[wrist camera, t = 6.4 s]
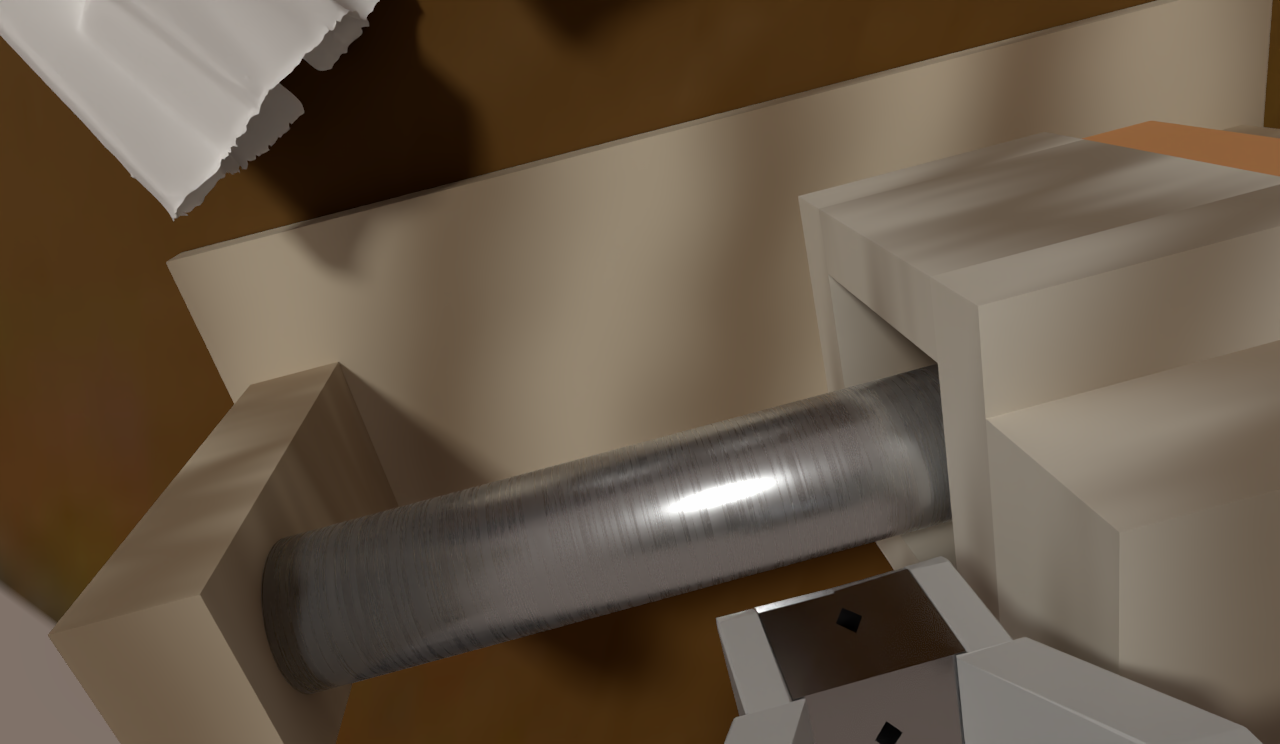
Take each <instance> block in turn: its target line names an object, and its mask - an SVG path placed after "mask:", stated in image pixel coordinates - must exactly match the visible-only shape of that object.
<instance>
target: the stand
mask: <svg viewBox="0 0 1280 744" xmlns="http://www.w3.org/2000/svg"><path fill="white" fill-rule="evenodd" d="M1271 13H1272V0H1157V1H1154V2H1150V3H1146V4H1142V5H1138V6H1134V7H1130V8H1126V9H1123V10H1119V11H1115V12H1111V13H1107V14H1103V15H1099V16H1095V17H1092V18H1088V19H1084V20H1080V21H1076V22H1072V23H1068V24H1065V25H1061V26H1057V27H1053V28H1049V29H1045V30H1041V31H1037V32H1034V33H1030V34H1026V35H1022V36H1018V37H1014V38H1010V39H1006V40H1003V41H999V42H995V43H991V44H987V45H983V46H979V47H976V48H972V49H968V50H964V51H960V52H956V53H952V54H948V55H945V56H941V57H937V58H933V59H929V60H925V61H921V62H917V63H914V64H910V65H906V66H902V67H898V68H894V69H890V70H887V71H883V72H879V73H875V74H871V75H867V76H863V77H859V78H856V79H852V80H848V81H844V82H840V83H836V84H832V85H829V86H825V87H821V88H817V89H813V90H809V91H805V92H801V93H798V94H794V95H790V96H786V97H782V98H778V99H774V100H770V101H767V102H763V103H759V104H755V105H751V106H747V107H743V108H740V109H736V110H732V111H728V112H724V113H720V114H716V115H712V116H709V117H705V118H701V119H697V120H693V121H689V122H685V123H681V124H678V125H674V126H670V127H666V128H662V129H658V130H654V131H651V132H647V133H643V134H639V135H635V136H631V137H627V138H623V139H620V140H616V141H612V142H608V143H604V144H600V145H596V146H592V147H589V148H585V149H581V150H577V151H573V152H569V153H565V154H562V155H558V156H554V157H550V158H546V159H542V160H538V161H534V162H531V163H527V164H523V165H519V166H515V167H511V168H507V169H503V170H500V171H496V172H492V173H488V174H484V175H480V176H476V177H473V178H469V179H465V180H461V181H457V182H453V183H449V184H445V185H442V186H438V187H434V188H430V189H426V190H422V191H418V192H414V193H411V194H407V195H403V196H399V197H395V198H391V199H387V200H384V201H380V202H376V203H372V204H368V205H364V206H360V207H356V208H353V209H349V210H345V211H341V212H337V213H333V214H329V215H325V216H322V217H318V218H314V219H310V220H306V221H302V222H298V223H295V224H291V225H287V226H283V227H279V228H275V229H271V230H267V231H264V232H260V233H256V234H252V235H248V236H244V237H240V238H236V239H233V240H229V241H225V242H221V243H217V244H213V245H209V246H206V247H202V248H198V249H194V250H190V251H186V252H182V253H180V254H178V255H177V256H175V257H174V258H172V259H170V260H169V261H167V262H166V264H167V266H168V268H169V270H170V272H171V274H172V276H173V278H174V280H175V282H176V284H177V286H178V288H179V290H180V292H181V295H182V297H183V299H184V301H185V303H186V305H187V307H188V309H189V311H190V313H191V315H192V317H193V319H194V321H195V323H196V326H197V328H198V330H199V332H200V334H201V336H202V338H203V340H204V342H205V344H206V346H207V348H208V350H209V352H210V354H211V357H212V359H213V361H214V363H215V365H216V367H217V369H218V371H219V373H220V375H221V377H222V379H223V381H224V383H225V385H226V388H227V390H228V392H229V394H230V396H231V398H232V400H233V402H234V405H233V407H232V408H231V409H230V410H229V412H228V413H227V414H226V415H225V417H224V418H223V419H222V420H221V421H220V423H219V424H218V425H217V426H216V428H215V429H214V430H213V431H212V433H211V434H210V435H209V436H208V438H207V439H206V440H205V441H204V443H203V444H202V445H201V446H200V447H199V449H198V450H197V451H196V452H195V454H194V455H193V456H192V457H191V459H190V460H189V461H188V462H187V464H186V465H185V466H184V467H183V468H182V470H181V471H180V472H179V473H178V475H177V476H176V477H175V478H174V480H173V481H172V482H171V483H170V485H169V486H168V487H167V488H166V490H165V491H164V492H163V493H162V494H161V496H160V497H159V498H158V499H157V501H156V502H155V503H154V504H153V506H152V507H151V508H150V509H149V511H148V512H147V513H146V514H145V515H144V517H143V518H142V519H141V520H140V522H139V523H138V524H137V525H136V527H135V528H134V529H133V530H132V532H131V533H130V534H129V535H128V536H127V538H126V539H125V540H124V541H123V543H122V544H121V545H120V546H119V548H118V549H117V550H116V551H115V553H114V554H113V555H112V556H111V558H110V559H109V560H108V561H107V562H106V564H105V565H104V566H103V567H102V569H101V570H100V571H99V572H98V574H97V575H96V576H95V577H94V579H93V580H92V581H91V582H90V583H89V585H88V586H87V587H86V588H85V590H84V591H83V592H82V593H81V595H80V596H79V597H78V598H77V600H76V601H75V602H74V603H73V604H72V606H71V607H70V608H69V609H68V611H67V612H66V613H65V614H64V616H63V617H62V618H61V619H60V621H59V622H58V623H57V624H56V626H55V627H54V628H53V629H52V630H51V632H50V633H49V634H48V636H49V638H50V639H51V641H52V642H53V644H54V645H55V647H56V648H57V650H58V651H59V653H60V654H61V656H62V657H63V659H64V660H65V662H66V663H67V665H68V666H69V668H70V669H71V671H72V672H73V673H74V675H75V676H76V678H77V679H78V681H79V682H80V684H81V685H82V687H83V688H84V690H85V691H86V693H87V694H88V696H89V697H90V699H91V700H92V702H93V703H94V705H95V706H96V708H97V709H98V711H99V712H100V714H101V715H102V716H103V718H104V719H105V721H106V722H107V724H108V725H109V727H110V728H111V730H112V731H113V733H114V734H115V736H116V737H117V739H118V740H119V742H120V743H121V744H336V740H337V737H338V733H339V729H340V726H341V722H342V719H343V715H344V711H345V708H346V704H347V701H348V697H349V694H350V690H351V686H352V683H351V684H347V685H343V686H340V687H336V688H332V689H329V690H325V691H321V692H317V693H314V694H303V693H300V692H298V691H297V690H295V689H294V688H293V687H292V686H291V685H290V684H289V683H288V682H287V681H286V680H285V678H284V677H283V675H282V674H281V672H280V670H279V669H278V667H277V664H276V662H275V660H274V658H273V655H272V653H271V650H270V647H269V644H268V640H267V636H266V632H265V628H264V622H263V615H262V605H261V584H262V574H263V569H264V565H265V561H266V558H267V555H268V553H269V551H270V549H271V548H272V546H273V545H274V544H275V543H276V542H277V541H278V540H280V539H282V538H285V537H288V536H292V535H296V534H300V533H303V532H307V531H311V530H315V529H318V528H322V527H326V526H330V525H333V524H337V523H341V522H345V521H348V520H352V519H356V518H360V517H363V516H367V515H371V514H375V513H378V512H382V511H386V510H390V509H393V508H397V507H401V506H405V505H408V504H412V503H416V502H420V501H423V500H427V499H431V498H435V497H438V496H442V495H446V494H450V493H454V492H457V491H461V490H465V489H469V488H472V487H476V486H480V485H484V484H487V483H491V482H495V481H499V480H502V479H506V478H510V477H514V476H517V475H521V474H525V473H529V472H532V471H536V470H540V469H544V468H547V467H551V466H555V465H559V464H562V463H566V462H570V461H574V460H577V459H581V458H585V457H589V456H592V455H596V454H600V453H604V452H607V451H611V450H615V449H619V448H622V447H626V446H630V445H634V444H637V443H641V442H645V441H649V440H652V439H656V438H660V437H664V436H667V435H671V434H675V433H679V432H682V431H686V430H690V429H694V428H697V427H701V426H705V425H709V424H712V423H716V422H720V421H724V420H728V419H731V418H735V417H739V416H743V415H746V414H750V413H754V412H758V411H761V410H765V409H769V408H773V407H776V406H780V405H784V404H788V403H791V402H795V401H799V400H803V399H806V398H810V397H814V396H818V395H821V394H825V393H828V387H827V381H826V374H825V368H824V361H823V355H822V348H821V342H820V335H819V329H818V323H817V316H816V310H815V303H814V297H813V290H812V284H811V277H810V271H809V264H808V258H807V251H806V245H805V238H804V232H803V225H802V219H801V213H800V206H799V200H798V196H801V195H805V194H809V193H812V192H816V191H820V190H824V189H828V188H832V187H835V186H839V185H843V184H847V183H851V182H854V181H858V180H862V179H866V178H870V177H874V176H877V175H881V174H885V173H889V172H893V171H897V170H900V169H904V168H908V167H912V166H916V165H920V164H923V163H927V162H931V161H935V160H939V159H943V158H946V157H950V156H954V155H958V154H962V153H966V152H969V151H973V150H977V149H981V148H985V147H989V146H992V145H996V144H1000V143H1004V142H1008V141H1012V140H1015V139H1019V138H1023V137H1027V136H1031V135H1034V134H1038V133H1042V132H1048V133H1053V134H1059V135H1064V136H1069V137H1074V138H1080V139H1082V138H1086V137H1090V136H1094V135H1097V134H1101V133H1105V132H1109V131H1113V130H1116V129H1120V128H1124V127H1128V126H1132V125H1136V124H1139V123H1143V122H1147V121H1158V122H1166V123H1173V124H1180V125H1187V126H1194V127H1202V128H1209V129H1216V130H1223V131H1230V132H1237V133H1245V134H1252V135H1259V136H1266V137H1273V138H1280V129H1274V128H1266V127H1263V122H1264V108H1265V94H1266V81H1267V67H1268V54H1269V40H1270V27H1271Z"/></svg>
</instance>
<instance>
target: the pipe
mask: <svg viewBox="0 0 1280 744" xmlns="http://www.w3.org/2000/svg"><path fill="white" fill-rule="evenodd" d="M949 521H952V511H951V500H950V489H949V479H948V468H947V457H946V446H945V435H944V425H943V414H942V403H941V392H940V382H939V371H938V364H934V365H930V366H926V367H923V368H919V369H915V370H911V371H908V372H904V373H900V374H896V375H893V376H889V377H885V378H881V379H878V380H874V381H870V382H866V383H863V384H859V385H855V386H851V387H848V388H844V389H840V390H836V391H833V392H829V393H825V394H821V395H818V396H814V397H810V398H806V399H803V400H799V401H795V402H791V403H788V404H784V405H780V406H776V407H773V408H769V409H765V410H761V411H758V412H754V413H750V414H746V415H743V416H739V417H735V418H731V419H728V420H724V421H720V422H716V423H712V424H709V425H705V426H701V427H697V428H694V429H690V430H686V431H682V432H679V433H675V434H671V435H667V436H664V437H660V438H656V439H652V440H649V441H645V442H641V443H637V444H634V445H630V446H626V447H622V448H619V449H615V450H611V451H607V452H604V453H600V454H596V455H592V456H589V457H585V458H581V459H577V460H574V461H570V462H566V463H562V464H559V465H555V466H551V467H547V468H544V469H540V470H536V471H532V472H529V473H525V474H521V475H517V476H514V477H510V478H506V479H502V480H499V481H495V482H491V483H487V484H484V485H480V486H476V487H472V488H469V489H465V490H461V491H457V492H454V493H450V494H446V495H442V496H438V497H435V498H431V499H427V500H423V501H420V502H416V503H412V504H408V505H405V506H401V507H397V508H393V509H390V510H386V511H382V512H378V513H375V514H371V515H367V516H363V517H360V518H356V519H352V520H348V521H345V522H341V523H337V524H333V525H330V526H326V527H322V528H318V529H315V530H311V531H307V532H303V533H300V534H296V535H292V536H288V537H285V538H282V539H280V540H278V541H277V542H276V543H275V544H274V545H273V546H272V548H271V549H270V551H269V553H268V555H267V558H266V561H265V565H264V569H263V574H262V584H261V605H262V615H263V622H264V628H265V632H266V636H267V640H268V644H269V647H270V650H271V653H272V655H273V658H274V660H275V662H276V664H277V667H278V669H279V670H280V672H281V674H282V675H283V677H284V678H285V680H286V681H287V682H288V683H289V684H290V685H291V686H292V687H293V688H294V689H295V690H297V691H298V692H300V693H303V694H314V693H317V692H321V691H325V690H329V689H332V688H336V687H340V686H343V685H347V684H351V683H354V682H358V681H362V680H365V679H369V678H373V677H377V676H380V675H384V674H388V673H391V672H395V671H399V670H402V669H406V668H410V667H413V666H417V665H421V664H425V663H428V662H432V661H436V660H439V659H443V658H447V657H450V656H454V655H458V654H462V653H465V652H469V651H473V650H476V649H480V648H484V647H487V646H491V645H495V644H498V643H502V642H506V641H510V640H513V639H517V638H521V637H524V636H528V635H532V634H535V633H539V632H543V631H547V630H550V629H554V628H558V627H561V626H565V625H569V624H572V623H576V622H580V621H583V620H587V619H591V618H595V617H598V616H602V615H606V614H609V613H613V612H617V611H620V610H624V609H628V608H632V607H635V606H639V605H643V604H646V603H650V602H654V601H657V600H661V599H665V598H668V597H672V596H676V595H680V594H683V593H687V592H691V591H694V590H698V589H702V588H705V587H709V586H713V585H716V584H720V583H724V582H728V581H731V580H735V579H739V578H742V577H746V576H750V575H753V574H757V573H761V572H765V571H768V570H772V569H776V568H779V567H783V566H787V565H790V564H794V563H798V562H801V561H805V560H809V559H813V558H816V557H820V556H824V555H827V554H831V553H835V552H838V551H842V550H846V549H850V548H853V547H857V546H861V545H864V544H868V543H872V542H875V541H879V540H883V539H886V538H890V537H894V536H898V535H901V534H905V533H909V532H912V531H916V530H920V529H923V528H927V527H931V526H935V525H938V524H942V523H946V522H949Z"/></svg>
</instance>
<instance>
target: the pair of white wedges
mask: <svg viewBox="0 0 1280 744" xmlns="http://www.w3.org/2000/svg"><path fill="white" fill-rule="evenodd" d="M379 1H380V0H0V35H1V36H2V37H3V39H4V40H5V41H6V42H7V43H8V44H9V45H10V46H11V47H12V48H13V49H14V50H15V51H16V52H17V53H18V54H19V56H20V57H21V58H22V59H23V60H24V61H25V62H26V63H27V64H28V65H29V66H30V67H31V68H32V69H33V70H34V71H35V72H36V74H37V75H38V76H39V77H40V78H41V79H42V80H43V81H44V82H45V83H46V84H47V85H48V86H49V87H50V88H51V89H52V90H53V91H54V93H55V94H56V95H57V96H58V97H59V98H60V99H61V100H62V101H63V102H64V103H65V104H66V105H67V106H68V107H69V108H70V109H71V110H72V111H73V112H74V113H75V114H76V115H77V117H78V118H79V119H80V120H81V121H82V122H83V123H84V124H85V125H86V126H87V127H88V128H89V129H90V130H91V132H92V133H93V134H94V135H95V136H96V137H97V138H98V139H99V141H100V142H101V143H102V144H103V145H104V146H105V147H106V148H107V149H108V150H109V151H110V152H111V153H112V154H113V155H114V156H115V157H116V158H117V159H118V160H119V161H120V162H121V163H122V164H123V166H124V167H125V168H126V169H127V170H128V172H129V173H130V174H131V176H132V177H133V178H135V179H137V180H138V181H139V182H140V183H141V184H142V185H143V186H144V187H145V188H146V189H147V190H148V191H149V192H150V193H151V194H152V195H153V196H154V197H155V198H156V199H157V200H158V201H159V202H160V203H161V204H162V205H163V206H164V207H165V209H166V210H167V211H168V213H169V214H170V216H171V217H172V219H173V221H174V218H176V219H177V218H178V217H179V216H182V215H186V216H189V215H187V214H185V213H184V212H186V213H187V212H190V211H192V210H193V208H194V207H195V206H200V205H201V204H202V202H203V201H204V197H205V196H206V195H207V194H208V193H209V192H210V190H211V189H212V188H213V187H214V186H215V185H216V182H217V181H218V180H219V179H221V178H224V177H225V173H226V172H228V173H229V172H230V173H231V174H233V173H237V171H238V172H239V173H240V171H239V166H241V167H242V169H243V168H244V169H247V166H248V162H247V160H248V161H253V160H255V159H256V155H257V156H260V155H261V154H263V153H265V152H267V151H269V150H270V149H268V146H269V145H270V146H271V147H272V145H273V144H275V142H276V140H277V138H278V137H280V138H281V137H282V135H283V134H284V133H286V132H287V131H288V130H290V128H289V123H291V124H293V122H294V121H295V120H297V119H298V117H299V116H300V115H302V114H304V109H303V106H302V103H301V102H300V101H299V100H298V99H297V98H296V97H295V96H294V95H293V94H292V93H291V92H290V91H288V90H287V89H286V88H285V87H283V86H282V85H281V84H280V83H279V82H280V81H281V80H283V79H284V78H285V77H286V76H287V75H289V74H290V73H291V72H292V71H293V69H294V68H295V67H296V66H297V65H299V64H300V62H301V60H302V58H303V59H304V60H305V61H306V62H308V63H309V64H310V65H311V66H313V67H314V68H315V69H317V70H319V71H325V70H329V69H332V67H333V65H334V63H335V62H336V61H337V60H338V59H339V57H340V55H341V54H343V53H347V48H348V46H349V45H350V44H351V43H352V42H353V41H354V40H355V39H357V38H358V37H360V36H361V35H362V29H361V28H362V27H369V21H368V20H367V16H368V15H369V13H371V12H372V11H373V9H374V6H375V5H376V3H377V2H379ZM228 170H229V171H228Z"/></svg>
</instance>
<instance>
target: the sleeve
mask: <svg viewBox="0 0 1280 744" xmlns="http://www.w3.org/2000/svg"><path fill="white" fill-rule="evenodd" d="M798 200H799V206H800V213H801V219H802V225H803V232H804V238H805V245H806V251H807V258H808V264H809V271H810V277H811V284H812V290H813V297H814V303H815V310H816V316H817V323H818V329H819V335H820V342H821V348H822V355H823V361H824V368H825V374H826V381H827V387H828V393H829V392H833V391H836V390H840V389H844V388H848V387H851V386H855V385H859V384H863V383H866V382H870V381H874V380H878V379H881V378H885V377H889V376H893V375H896V374H900V373H904V372H908V371H911V370H915V369H919V368H923V367H926V366H930V365H934V364H938V371H939V382H940V392H941V403H942V414H943V425H944V435H945V446H946V457H947V468H948V479H949V489H950V500H951V511H952V521H949V522H946V523H942V524H938V525H935V526H931V527H927V528H923V529H920V530H916V531H912V532H909V533H905V534H901V535H898V536H894V537H890V538H886V539H883V540H879V541H875V542H876V544H877V545H878V547H879V548H880V550H881V551H882V553H883V554H884V556H885V557H886V559H887V560H888V561H889V563H890V564H891V566H892V567H893V569H894V570H898V569H903V568H904V567H905V566H909V565H912V564H916V563H919V562H922V561H926V560H929V559H932V558H936V557H939V556H942V557H944V558H947V559H948V560H949V561H950V562H951V563H952V565H953V566H954V567H955V568H956V569H957V571H958V572H959V573H960V574H961V576H962V577H963V578H964V579H965V581H966V582H967V583H968V584H969V585H970V587H971V588H972V589H973V590H974V592H975V593H976V594H977V595H978V597H979V598H980V599H981V600H982V601H983V603H984V604H985V605H986V606H987V608H988V609H989V610H990V611H991V612H992V614H993V615H994V616H995V617H996V619H997V620H998V621H999V622H1000V624H1001V625H1002V626H1003V627H1004V628H1005V630H1006V631H1007V632H1008V633H1009V635H1010V636H1011V637H1012V638H1013V640H1015V639H1019V638H1023V637H1027V638H1030V639H1032V640H1035V641H1037V642H1039V643H1042V644H1044V645H1047V646H1049V647H1052V648H1054V649H1057V650H1059V651H1061V652H1064V653H1066V654H1069V655H1071V656H1074V657H1076V658H1078V659H1081V660H1083V661H1086V662H1088V663H1091V664H1093V665H1095V666H1098V667H1100V668H1103V669H1105V670H1108V671H1110V672H1113V673H1115V674H1117V675H1120V676H1122V677H1125V678H1127V679H1130V680H1132V681H1134V682H1137V683H1139V684H1142V685H1144V686H1147V687H1149V688H1152V689H1154V690H1156V691H1159V692H1161V693H1164V694H1166V695H1169V696H1171V697H1173V698H1176V699H1178V700H1181V701H1183V702H1186V703H1188V704H1190V705H1193V706H1195V707H1198V708H1200V709H1203V710H1205V711H1208V712H1210V713H1212V714H1215V715H1217V716H1220V717H1222V718H1225V719H1227V720H1229V721H1232V722H1234V723H1237V724H1239V725H1242V726H1244V727H1246V728H1247V729H1248V730H1249V731H1250V732H1251V733H1252V734H1253V735H1254V736H1255V737H1256V738H1257V739H1259V740H1260V741H1261V742H1262V743H1263V744H1280V176H1274V175H1269V174H1264V173H1258V172H1253V171H1248V170H1243V169H1237V168H1232V167H1227V166H1222V165H1216V164H1211V163H1206V162H1201V161H1195V160H1190V159H1185V158H1180V157H1174V156H1169V155H1164V154H1159V153H1153V152H1148V151H1143V150H1138V149H1132V148H1127V147H1122V146H1116V145H1111V144H1106V143H1101V142H1095V141H1090V140H1085V139H1080V138H1074V137H1069V136H1064V135H1059V134H1053V133H1048V132H1042V133H1038V134H1034V135H1031V136H1027V137H1023V138H1019V139H1015V140H1012V141H1008V142H1004V143H1000V144H996V145H992V146H989V147H985V148H981V149H977V150H973V151H969V152H966V153H962V154H958V155H954V156H950V157H946V158H943V159H939V160H935V161H931V162H927V163H923V164H920V165H916V166H912V167H908V168H904V169H900V170H897V171H893V172H889V173H885V174H881V175H877V176H874V177H870V178H866V179H862V180H858V181H854V182H851V183H847V184H843V185H839V186H835V187H832V188H828V189H824V190H820V191H816V192H812V193H809V194H805V195H801V196H798Z"/></svg>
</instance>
